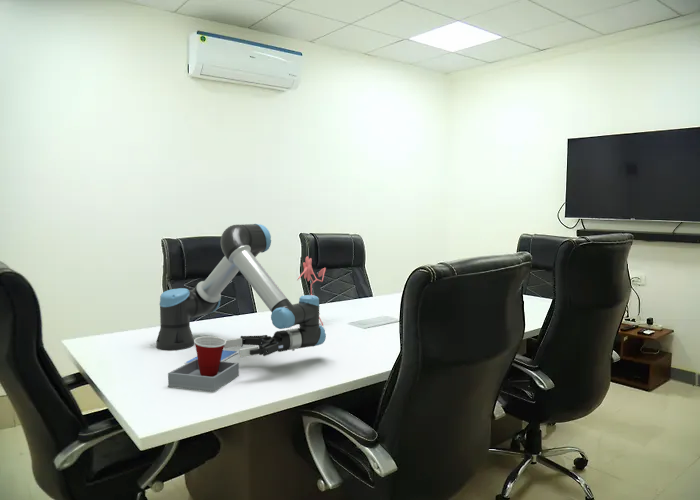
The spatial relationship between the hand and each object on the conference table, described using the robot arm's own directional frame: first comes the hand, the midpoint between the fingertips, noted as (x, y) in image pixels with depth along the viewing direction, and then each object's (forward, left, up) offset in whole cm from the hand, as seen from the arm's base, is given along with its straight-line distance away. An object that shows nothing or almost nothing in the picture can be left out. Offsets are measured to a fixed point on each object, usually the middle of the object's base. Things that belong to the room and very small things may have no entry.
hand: (231, 348), depth 176 cm
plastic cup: (-7, -4, -9) cm, 11 cm away
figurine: (0, +79, -10) cm, 79 cm away
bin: (-6, -7, -9) cm, 14 cm away
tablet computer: (-17, +17, -10) cm, 26 cm away
